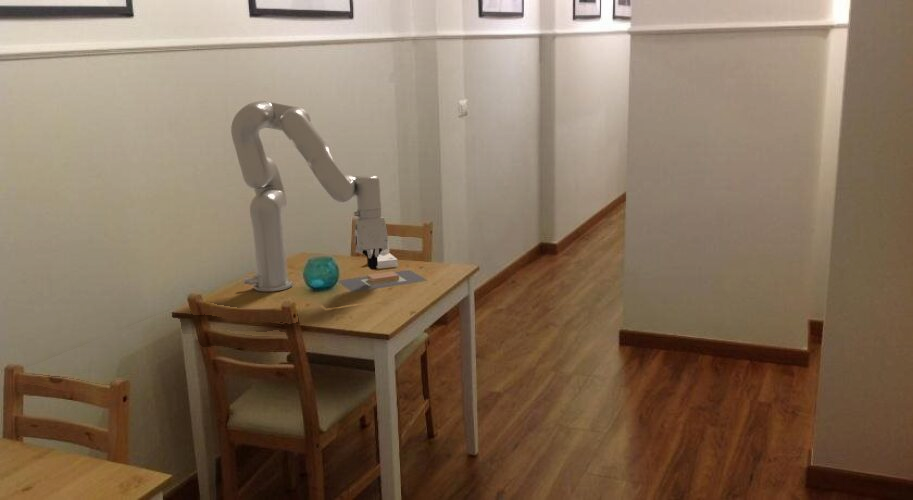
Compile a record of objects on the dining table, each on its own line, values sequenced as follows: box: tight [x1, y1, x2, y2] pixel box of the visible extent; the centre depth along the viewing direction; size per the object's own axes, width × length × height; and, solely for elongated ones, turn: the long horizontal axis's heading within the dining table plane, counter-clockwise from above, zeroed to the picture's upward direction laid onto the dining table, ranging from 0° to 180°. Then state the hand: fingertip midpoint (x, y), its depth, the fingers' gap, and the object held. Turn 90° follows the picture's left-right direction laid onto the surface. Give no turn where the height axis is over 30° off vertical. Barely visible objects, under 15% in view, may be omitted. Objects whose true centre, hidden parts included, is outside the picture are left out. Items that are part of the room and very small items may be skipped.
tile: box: [366, 270, 399, 284], centre depth 274 cm, size 2×6×9 cm
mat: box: [337, 269, 428, 293], centre depth 274 cm, size 26×16×1 cm, turn 115°
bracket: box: [371, 241, 399, 270], centre depth 296 cm, size 13×7×8 cm, turn 20°
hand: (372, 268), depth 272 cm, fingers closed
